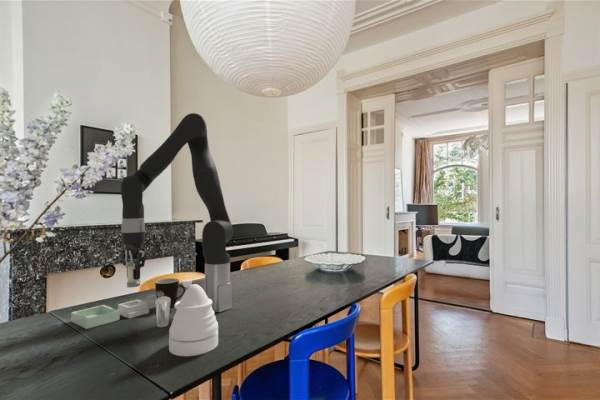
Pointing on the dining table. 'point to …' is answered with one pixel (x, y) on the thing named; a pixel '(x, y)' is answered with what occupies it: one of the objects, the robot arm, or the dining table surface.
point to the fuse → (131, 276)
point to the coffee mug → (168, 289)
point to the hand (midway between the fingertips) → (133, 278)
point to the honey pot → (193, 323)
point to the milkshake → (163, 311)
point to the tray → (95, 316)
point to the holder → (133, 308)
